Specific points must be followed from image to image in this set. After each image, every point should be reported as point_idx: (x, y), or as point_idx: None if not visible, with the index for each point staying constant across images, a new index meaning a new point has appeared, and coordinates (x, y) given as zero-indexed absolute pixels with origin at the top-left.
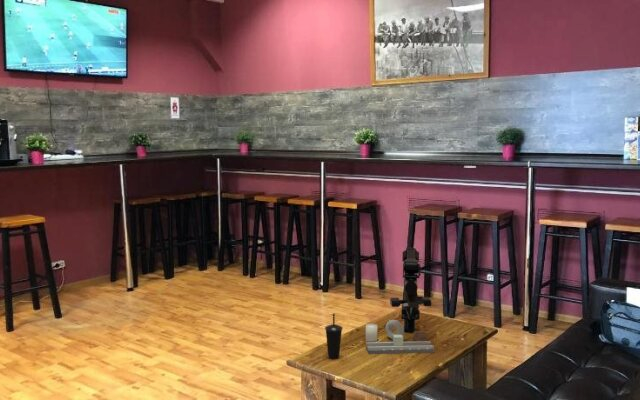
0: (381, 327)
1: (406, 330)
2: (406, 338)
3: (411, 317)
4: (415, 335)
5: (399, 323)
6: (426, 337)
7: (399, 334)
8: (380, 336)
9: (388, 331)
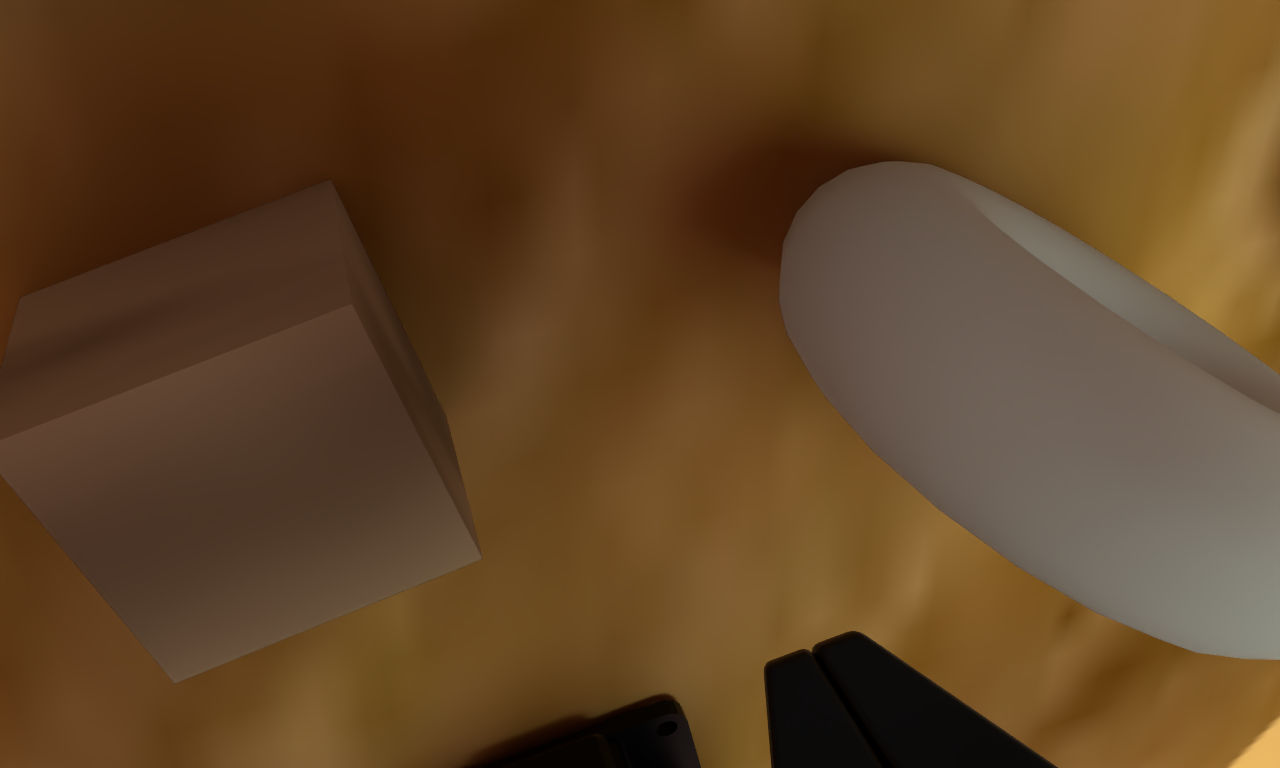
0: (1066, 742)
1: (640, 758)
2: (628, 409)
3: (810, 751)
4: (401, 378)
5: (1124, 472)
6: (7, 380)
7: (930, 184)
8: None
9: (1194, 328)
